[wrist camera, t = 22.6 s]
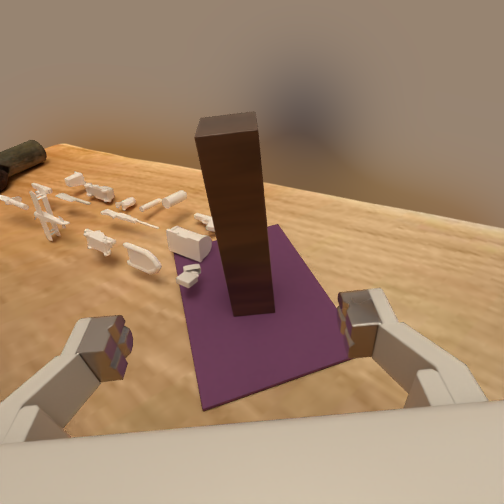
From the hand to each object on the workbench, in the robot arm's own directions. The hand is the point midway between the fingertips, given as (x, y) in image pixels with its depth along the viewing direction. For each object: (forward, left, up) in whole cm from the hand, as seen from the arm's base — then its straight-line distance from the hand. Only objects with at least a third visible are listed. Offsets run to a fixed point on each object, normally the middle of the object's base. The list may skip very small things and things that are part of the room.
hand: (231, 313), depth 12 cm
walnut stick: (+3, +11, -11) cm, 16 cm away
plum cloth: (+3, +12, -12) cm, 17 cm away
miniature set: (-9, +30, -12) cm, 33 cm away
